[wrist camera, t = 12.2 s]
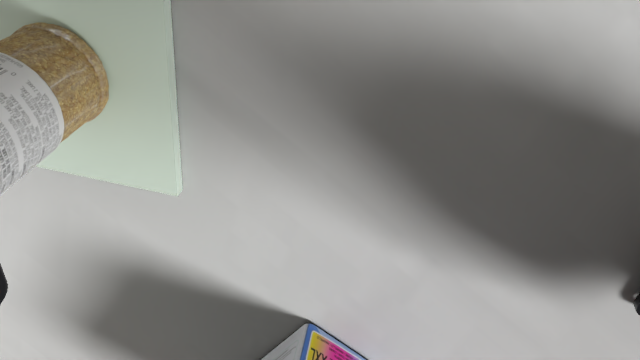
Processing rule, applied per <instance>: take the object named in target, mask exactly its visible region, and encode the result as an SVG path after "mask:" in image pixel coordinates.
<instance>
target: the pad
mask: <svg viewBox="0 0 640 360" xmlns="http://www.w3.org/2000/svg"><path fill="white" fill-rule="evenodd" d="M37 22H44V23H48V24H55V25H58V26H61V27H63V28H65V29H68V30H70V31H71V32H73V33H74V34H76V35H77V36H78V37H79V38H81V39H82V40H84V41H85V42H86V43H87V45H88V46H89V47H90V48H91V49H92V50H93V51H94V52H95V53H96V54H97V56H98V57H99V59H100V60H101V61H102V64H103V67H104V69H105V71H106V74H107V79H108V83H109V99H108V102H107V104H106V106H105V108H104V109H103V111H102V112H101V113H100V114H99V115H98V116H97V117H96V118H95V119H93V120H91V121H89V122H87V123H85V124H84V125H82V126H81V127H79V128H78V129H77V130H76V131H74V132H73V133H72V134H71V135H70V136H69V137H68V138H66V139H65V140H63V141H62V142H61V143H60V144H59V146H58V147H57V148H56V149H55V150H54V151H53V152H52V153H51V154H50V155H49V156H47V157H46V158H45V159H44V160H43V161H41V162H40V163H39V164H38V165H37V166H36V167H40V168H45V169H50V170H54V171H59V172H64V173H69V174H73V175H78V176H83V177H87V178H92V179H97V180H102V181H106V182H111V183H116V184H120V185H125V186H130V187H135V188H139V189H144V190H149V191H153V192H158V193H163V194H168V195H172V196H177V197H178V195H179V194H180V193H181V191H182V190H183V187H182V171H181V155H180V140H179V124H178V108H177V92H176V77H175V61H174V45H173V30H172V14H171V0H0V40H2V39H4V38H6V37H9V36H11V35H12V34H13V33H14V32H15V31H16V30H18V29H19V28H21V27H22V26H25V25H28V24H32V23H37Z"/></svg>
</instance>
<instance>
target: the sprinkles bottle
mask: <svg viewBox="0 0 640 360" xmlns="http://www.w3.org/2000/svg"><path fill="white" fill-rule="evenodd" d="M108 99H109V83H108V79H107V74H106V71H105V69H104V67H103V64H102V61H101V60H100V59H99V57H98V56H97V54H96V53H95V52H94V51H93V50H92V49H91V48H90V47H89V46H88V45H87V43H86V42H85V41H84V40H82V39H81V38H79V37H78V36H77V35H76V34H74V33H73V32H71V31H70V30H68V29H65V28H63V27H61V26H58V25H55V24H48V23H44V22H37V23H32V24H28V25H25V26H22V27H21V28H19V29H18V30H16V31H15V32H14V33H13V34H12V35H11V36H9V37H6V38H4V39H2V40H0V195H2V194H3V193H4V192H5V191H7V190H8V189H9V188H10V187H11V186H13V185H14V184H15V183H16V182H17V181H19V180H20V179H21V178H22V177H23V176H25V175H26V174H27V173H28V172H29V171H31V170H32V169H33V168H34V167H35V166H37V165H38V164H39V163H40V162H41V161H43V160H44V159H45V158H46V157H47V156H49V155H50V154H51V153H52V152H53V151H54V150H55V149H56V148H57V147H58V146H59V144H60V143H61V142H62V141H63V140H65V139H66V138H68V137H69V136H70V135H71V134H72V133H73V132H74V131H76V130H77V129H78V128H79V127H81V126H82V125H84V124H85V123H87V122H89V121H91V120H93V119H95V118H96V117H97V116H98V115H99V114H100V113H101V112H102V111H103V109H104V108H105V106H106V104H107V102H108Z"/></svg>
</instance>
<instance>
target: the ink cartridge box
mask: <svg viewBox="0 0 640 360" xmlns="http://www.w3.org/2000/svg"><path fill="white" fill-rule="evenodd" d="M261 360H366V359H364V358H363V357H361V356H360V355H358V354H357V353H355V352H354V351H352V350H351V349H349V348H348V347H346V346H345V345H343V344H342V343H340V342H339V341H337V340H336V339H334V338H333V337H331V336H330V335H328V334H327V333H325V332H324V331H323V330H321V329H320V328H318V327H317V326H315V325H313V324H304V325H303V326H302V327H300V328H299V329H298V330H297V331H296V332H294V333H293V334H292V335H291V336H289V337H288V338H287V339H286V340H285V341H283V342H282V343H281V344H280V345H278V346H277V347H276V348H275V349H273V350H272V351H271V352H270V353H268V354H267V355H266V356H265V357H263V358H262V359H261Z"/></svg>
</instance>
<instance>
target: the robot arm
mask: <svg viewBox="0 0 640 360" xmlns="http://www.w3.org/2000/svg"><path fill="white" fill-rule="evenodd" d="M7 289H8V284H7V280H6V278H5V275H4V272H3V270H2V267H1V264H0V304H1V303H2V301H3V299H4V298H5V296H6V293H7ZM633 304H634V307H635V309H636V312H637V313H638V314H639V315H640V293H639V295H638V296H637V298H636V299H635V301H634V303H633Z"/></svg>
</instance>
